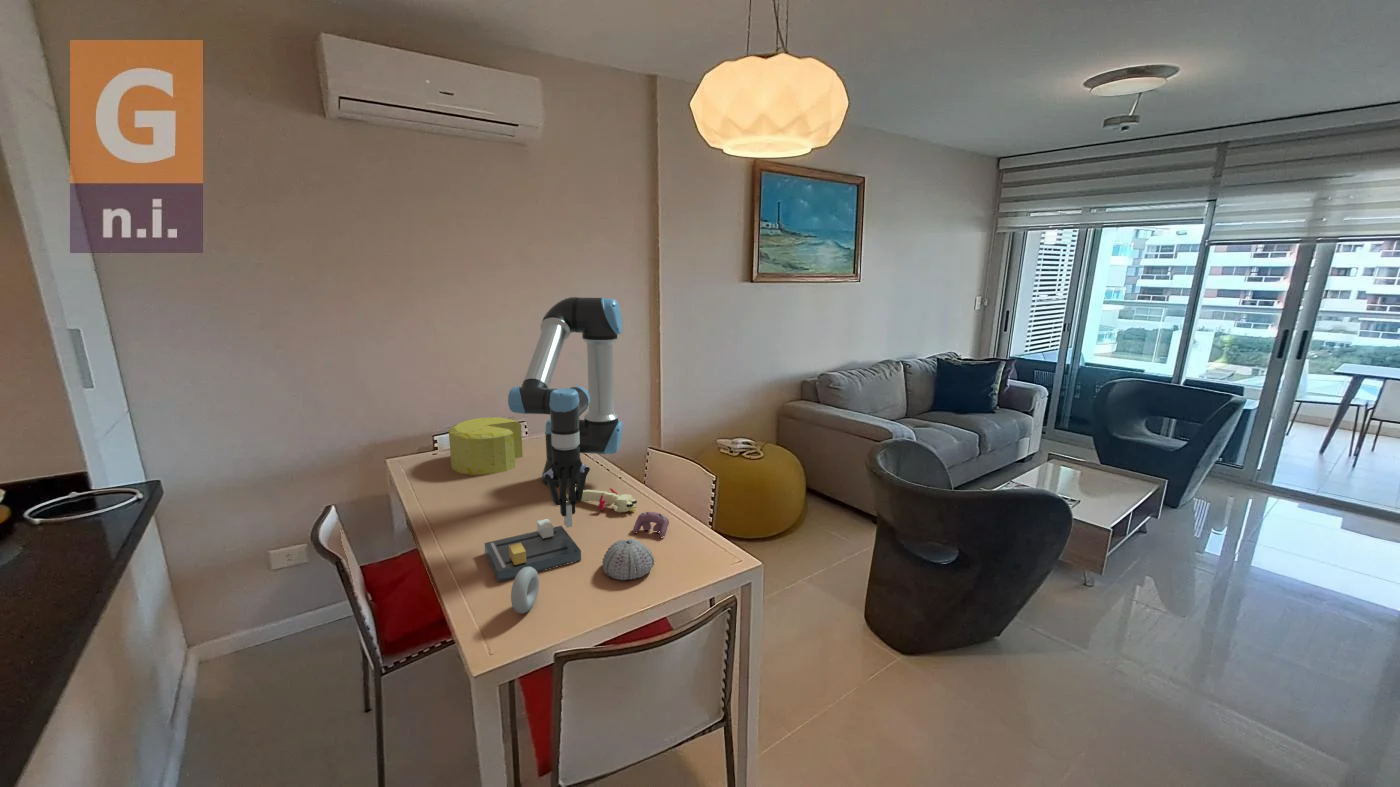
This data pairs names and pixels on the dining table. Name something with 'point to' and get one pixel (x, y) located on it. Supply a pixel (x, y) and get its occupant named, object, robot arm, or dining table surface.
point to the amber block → (517, 553)
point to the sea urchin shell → (627, 560)
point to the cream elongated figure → (609, 499)
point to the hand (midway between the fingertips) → (568, 525)
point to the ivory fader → (545, 528)
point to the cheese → (485, 445)
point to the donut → (525, 589)
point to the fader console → (532, 552)
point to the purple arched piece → (653, 517)
